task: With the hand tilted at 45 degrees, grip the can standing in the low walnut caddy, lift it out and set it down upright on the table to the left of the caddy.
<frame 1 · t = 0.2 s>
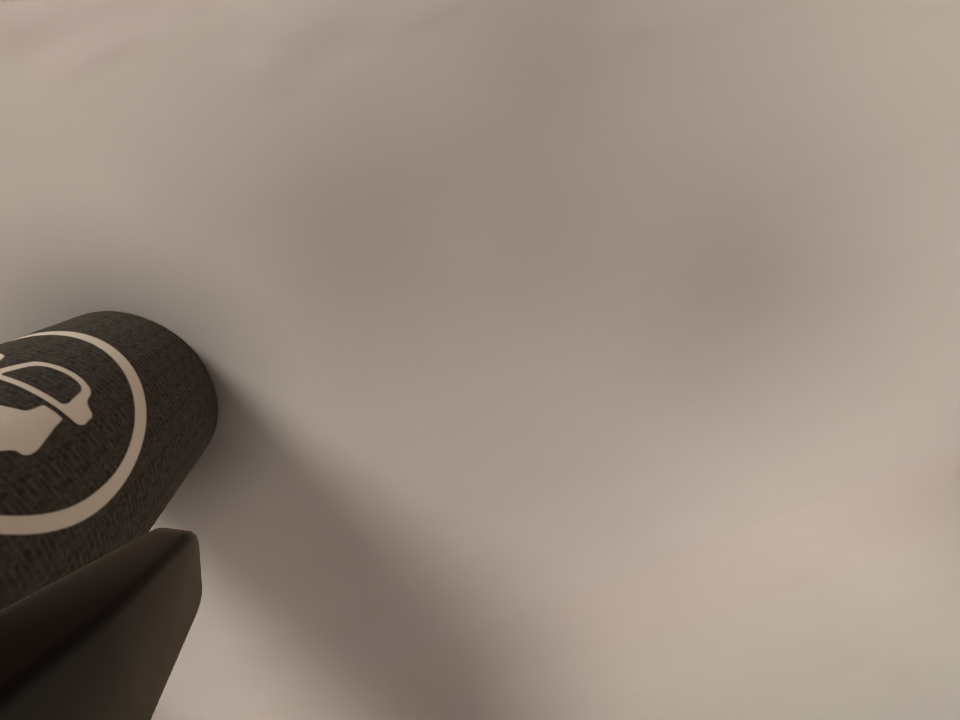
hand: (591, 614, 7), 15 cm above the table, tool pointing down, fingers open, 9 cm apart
coffee cup: (132, 393, 23), on the table
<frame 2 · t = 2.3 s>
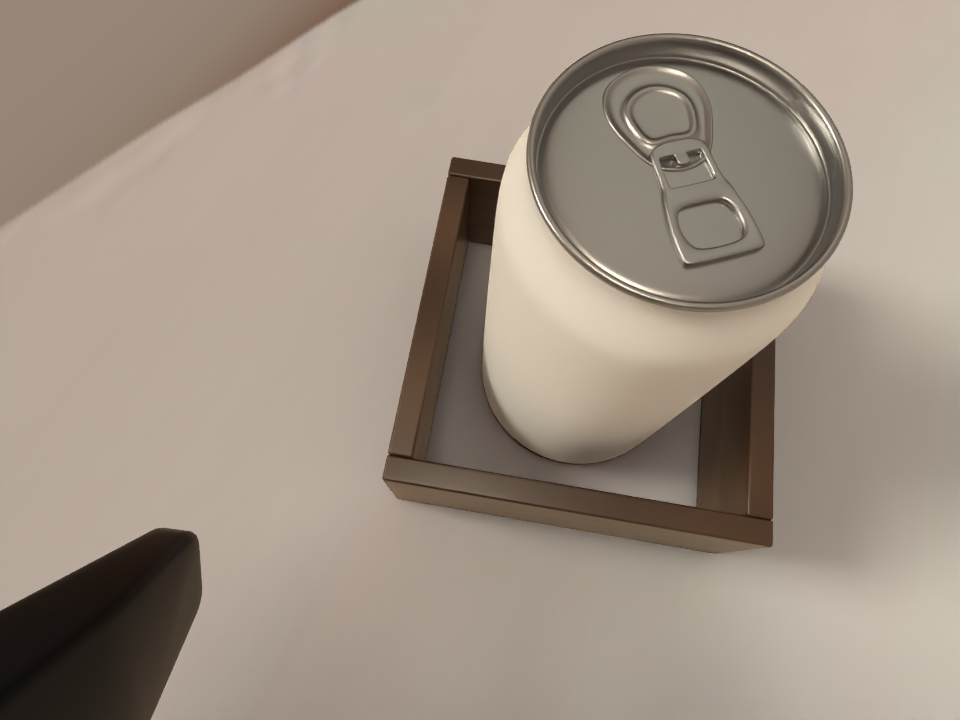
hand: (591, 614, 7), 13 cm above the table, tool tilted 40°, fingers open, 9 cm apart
can: (572, 376, 22), resting in caddy
caddy: (573, 374, 22), on the table
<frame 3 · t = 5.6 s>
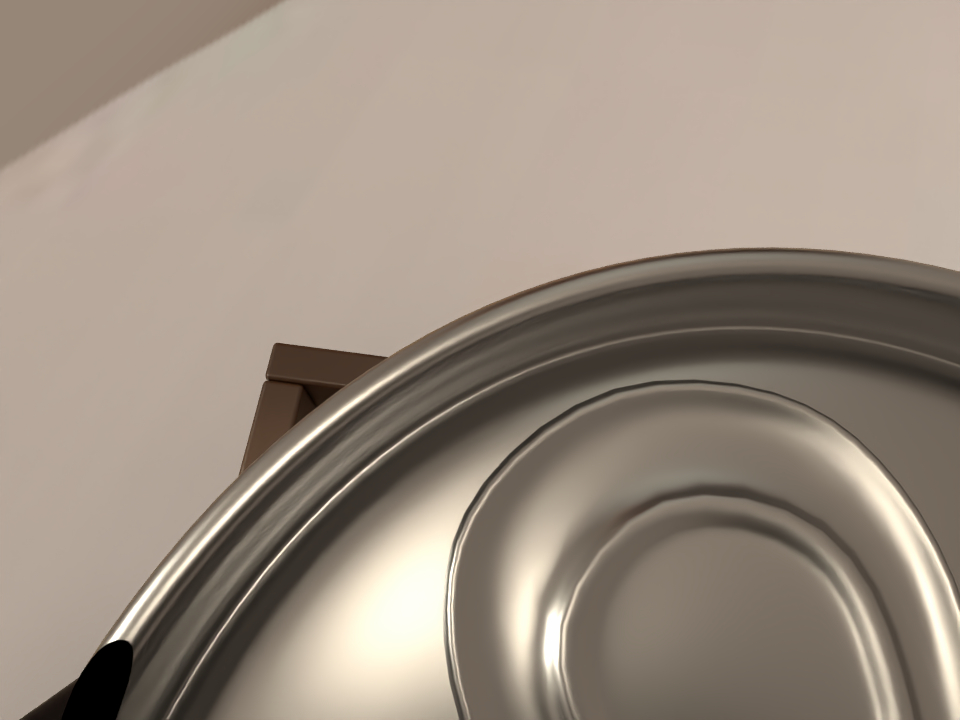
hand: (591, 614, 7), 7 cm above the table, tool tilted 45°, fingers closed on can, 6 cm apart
can: (517, 688, 13), resting in caddy, touching gripper
caddy: (518, 690, 13), on the table
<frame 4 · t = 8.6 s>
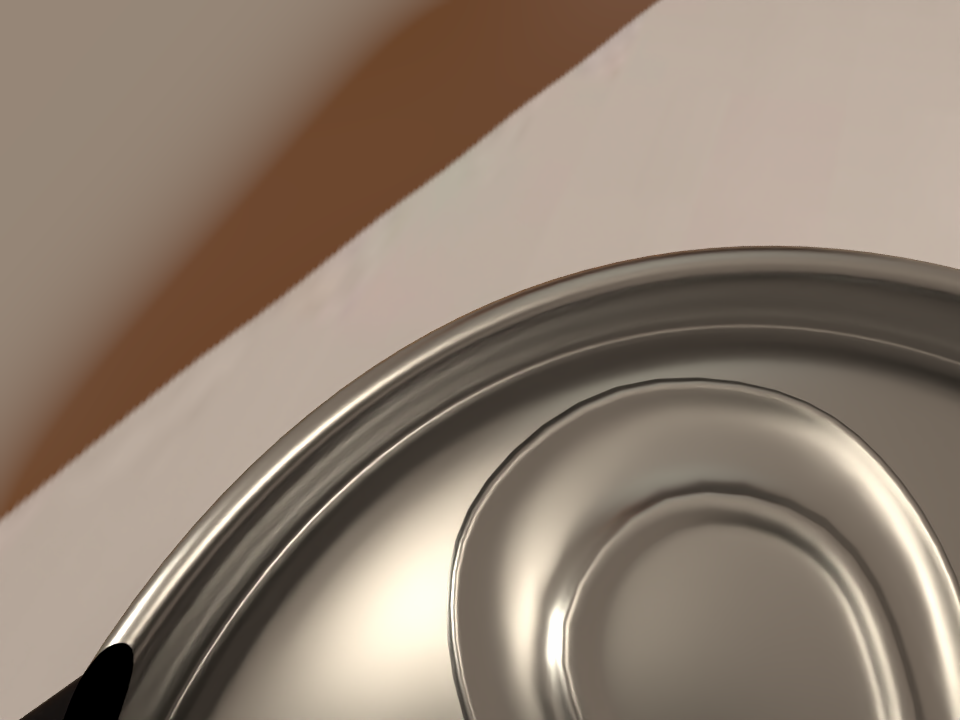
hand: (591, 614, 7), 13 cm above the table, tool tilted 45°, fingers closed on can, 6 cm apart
can: (518, 688, 13), point 7 cm above the table, touching gripper
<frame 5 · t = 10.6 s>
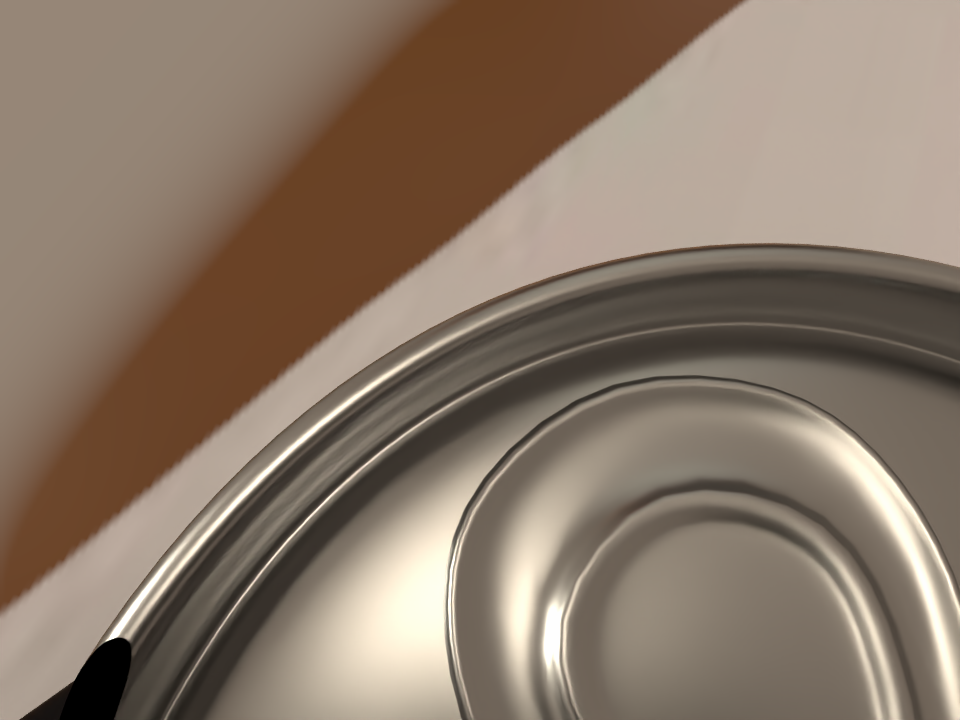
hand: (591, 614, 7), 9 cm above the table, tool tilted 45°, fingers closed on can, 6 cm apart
can: (517, 687, 13), point 2 cm above the table, touching gripper
when the fingers open (7 cm above the table, at t = 11.9 s): can stays where it is, on the table.
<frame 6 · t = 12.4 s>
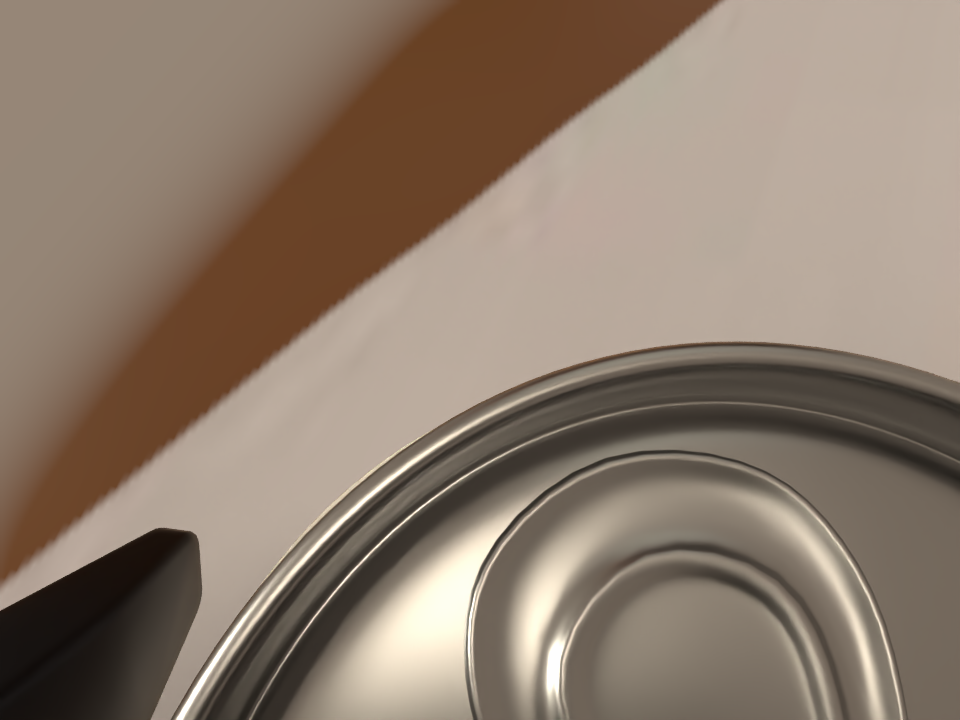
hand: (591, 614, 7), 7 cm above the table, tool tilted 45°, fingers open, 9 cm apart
can: (518, 693, 13), on the table
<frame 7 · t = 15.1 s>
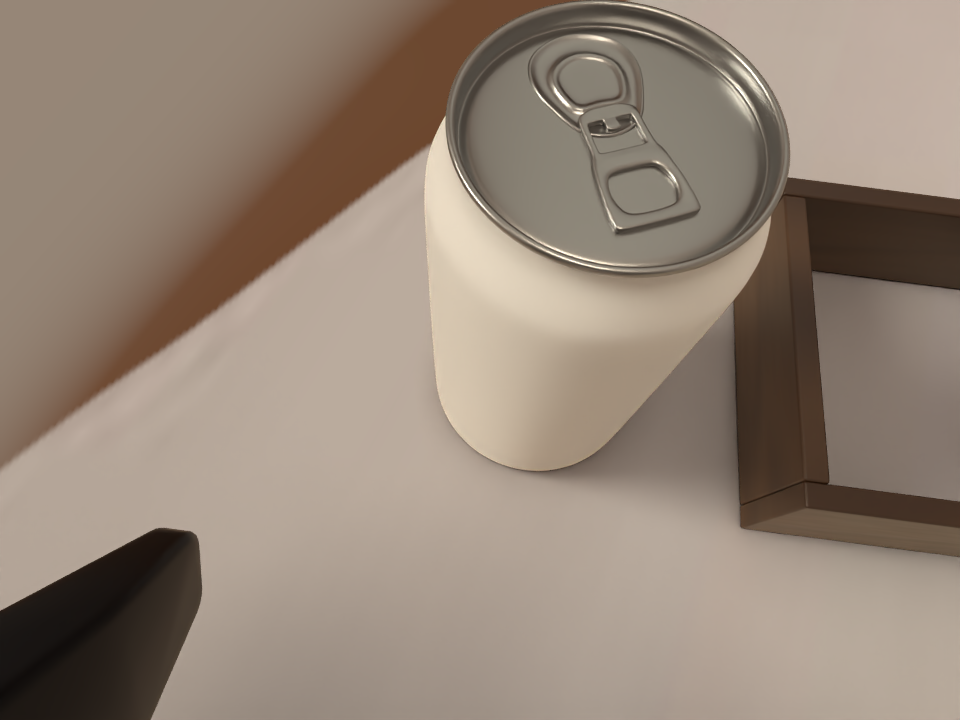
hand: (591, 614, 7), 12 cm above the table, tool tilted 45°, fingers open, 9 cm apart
can: (531, 381, 22), on the table
caddy: (886, 393, 22), on the table
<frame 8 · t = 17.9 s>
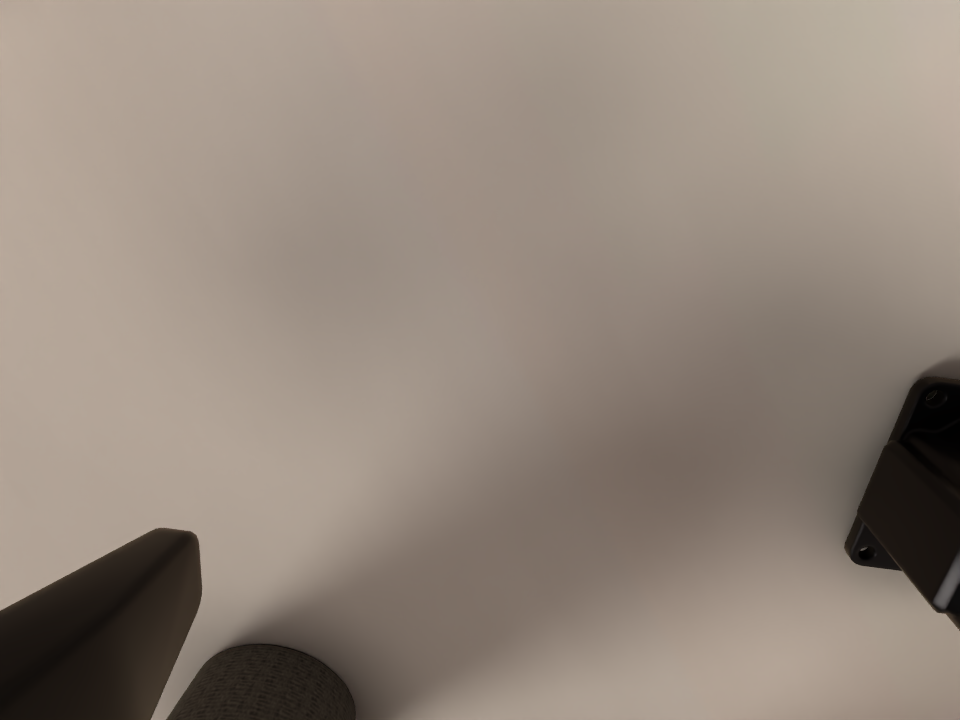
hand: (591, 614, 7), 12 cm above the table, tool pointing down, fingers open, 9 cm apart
coffee cup: (276, 701, 25), on the table
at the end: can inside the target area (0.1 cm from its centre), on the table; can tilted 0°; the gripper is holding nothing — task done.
